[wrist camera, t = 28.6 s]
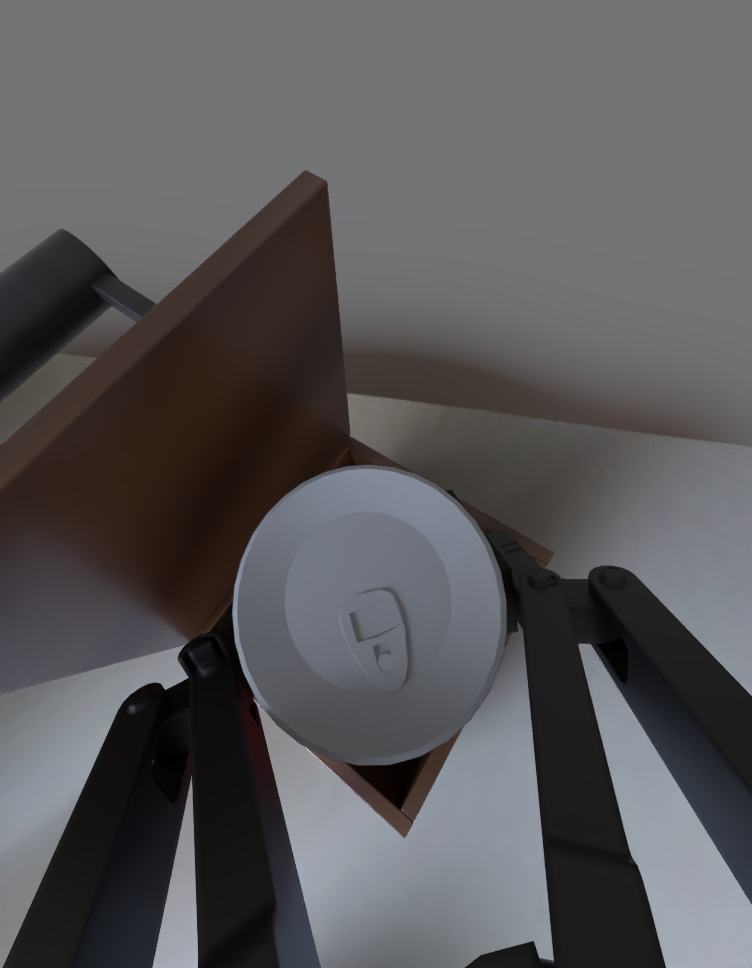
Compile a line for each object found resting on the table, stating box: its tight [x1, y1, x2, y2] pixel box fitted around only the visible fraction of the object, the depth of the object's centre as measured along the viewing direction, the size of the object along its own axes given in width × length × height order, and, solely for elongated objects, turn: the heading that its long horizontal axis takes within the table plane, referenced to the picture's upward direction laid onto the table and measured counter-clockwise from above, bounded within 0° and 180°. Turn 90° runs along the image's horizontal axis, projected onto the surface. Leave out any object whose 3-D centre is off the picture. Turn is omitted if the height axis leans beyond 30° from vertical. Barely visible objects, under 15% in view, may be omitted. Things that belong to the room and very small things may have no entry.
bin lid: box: [0, 170, 350, 695], centre depth 16 cm, size 16×17×8 cm
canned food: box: [232, 465, 507, 765], centre depth 15 cm, size 8×8×11 cm
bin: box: [190, 436, 553, 838], centre depth 26 cm, size 16×17×10 cm
